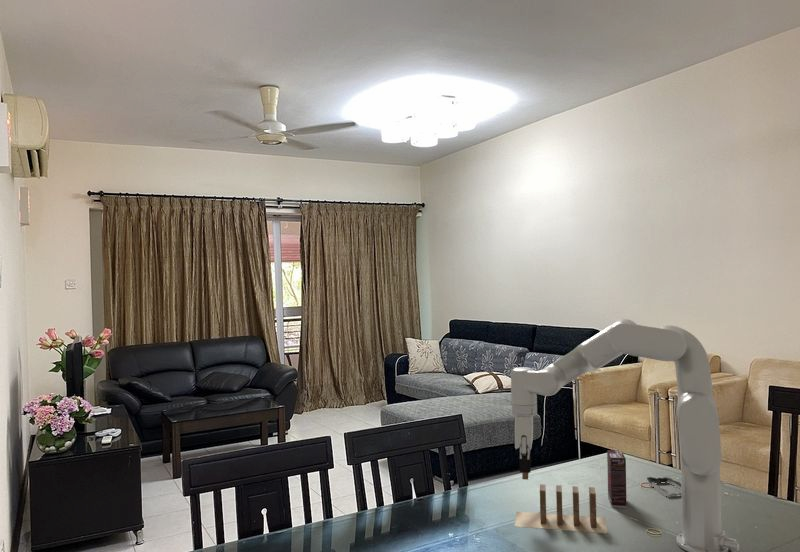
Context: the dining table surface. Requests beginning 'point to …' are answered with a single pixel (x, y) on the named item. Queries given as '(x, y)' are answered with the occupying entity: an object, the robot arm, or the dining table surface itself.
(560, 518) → the domino
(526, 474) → the domino
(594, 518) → the domino
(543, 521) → the domino
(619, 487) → the supplement box
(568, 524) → the light wooden board
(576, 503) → the domino
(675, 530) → the dining table surface
